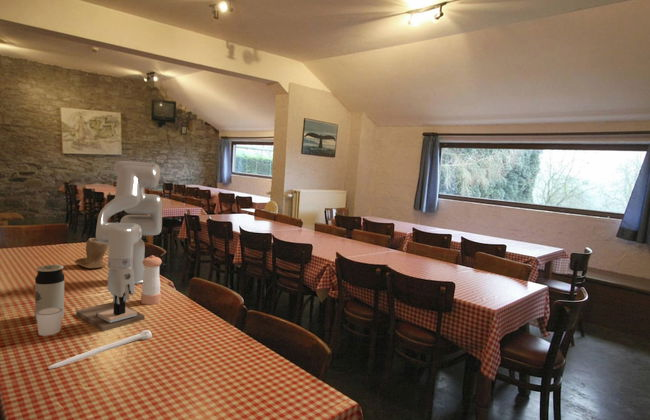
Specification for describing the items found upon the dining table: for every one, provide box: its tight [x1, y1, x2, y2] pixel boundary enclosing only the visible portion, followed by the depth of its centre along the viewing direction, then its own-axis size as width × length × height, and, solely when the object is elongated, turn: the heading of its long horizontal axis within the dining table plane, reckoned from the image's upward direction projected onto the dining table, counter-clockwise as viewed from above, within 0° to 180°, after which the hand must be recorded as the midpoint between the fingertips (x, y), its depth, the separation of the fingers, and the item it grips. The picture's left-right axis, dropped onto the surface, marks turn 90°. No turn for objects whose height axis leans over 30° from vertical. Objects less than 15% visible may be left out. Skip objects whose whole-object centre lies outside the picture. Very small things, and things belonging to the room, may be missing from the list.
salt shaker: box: [140, 255, 163, 305], centre depth 146 cm, size 7×7×19 cm
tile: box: [96, 307, 138, 323], centre depth 127 cm, size 10×9×1 cm
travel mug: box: [34, 264, 65, 321], centre depth 125 cm, size 8×8×18 cm
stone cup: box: [74, 237, 108, 269], centre depth 189 cm, size 15×12×15 cm
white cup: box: [36, 307, 63, 337], centre depth 115 cm, size 7×7×7 cm
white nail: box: [47, 329, 153, 370], centre depth 106 cm, size 28×4×3 cm, turn 147°
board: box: [75, 301, 145, 332], centre depth 130 cm, size 20×14×2 cm
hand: (119, 313), depth 126 cm, fingers closed
